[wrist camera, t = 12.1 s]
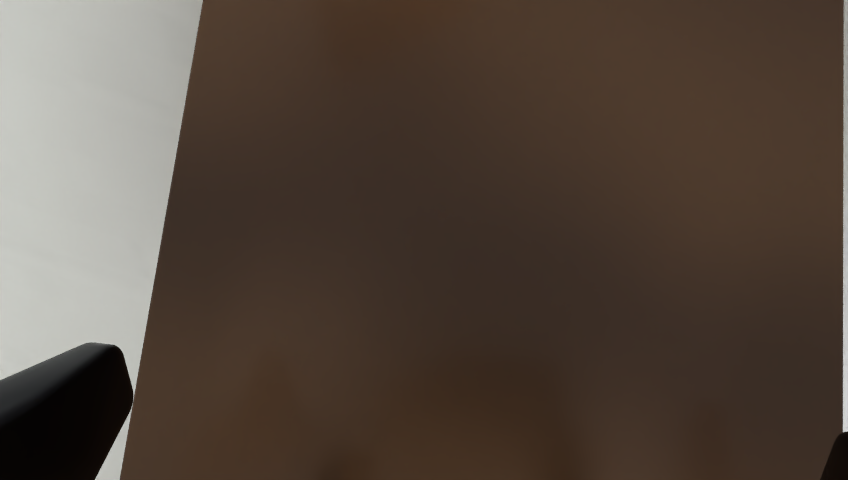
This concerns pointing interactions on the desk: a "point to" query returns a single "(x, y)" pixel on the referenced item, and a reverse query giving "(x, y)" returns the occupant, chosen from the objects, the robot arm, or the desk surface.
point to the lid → (501, 244)
